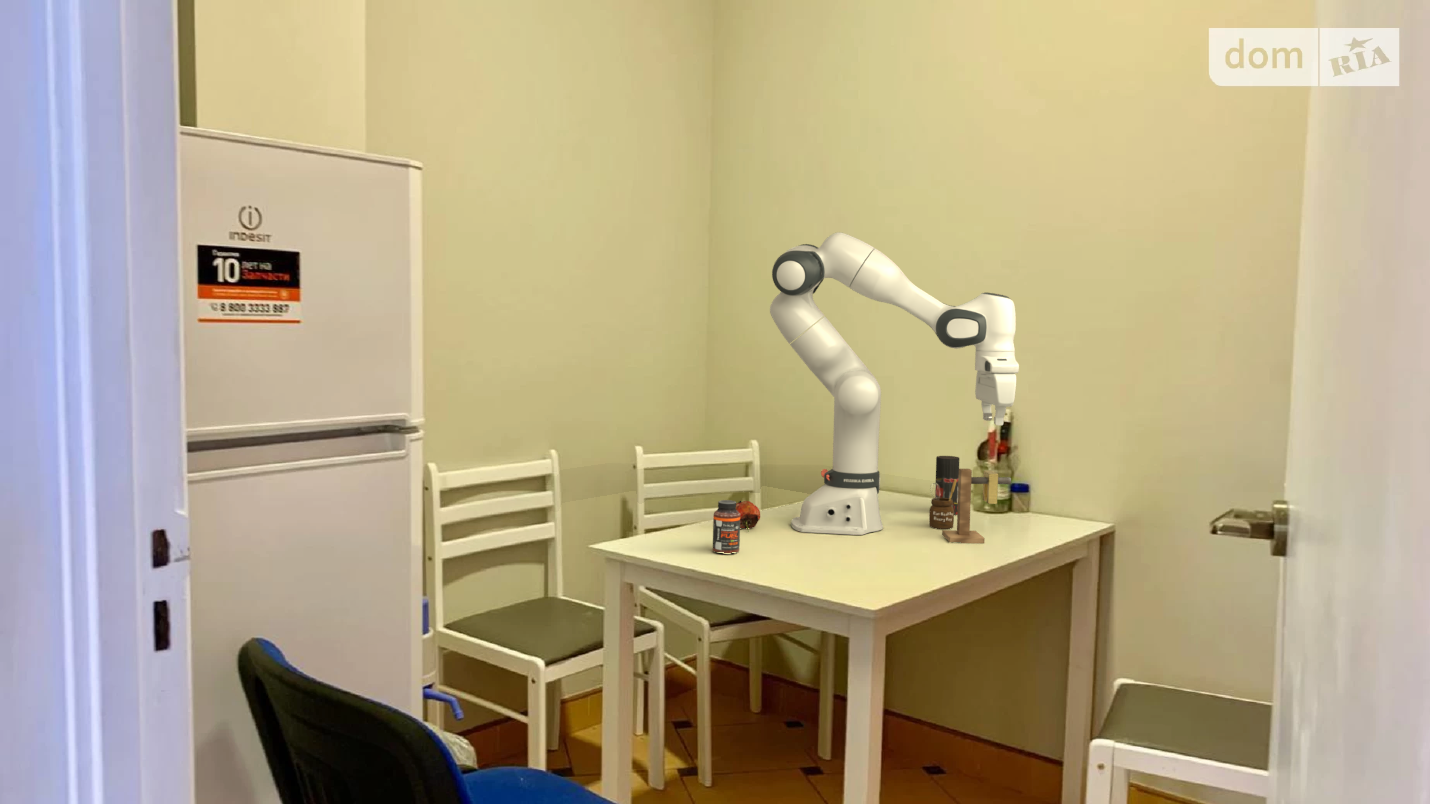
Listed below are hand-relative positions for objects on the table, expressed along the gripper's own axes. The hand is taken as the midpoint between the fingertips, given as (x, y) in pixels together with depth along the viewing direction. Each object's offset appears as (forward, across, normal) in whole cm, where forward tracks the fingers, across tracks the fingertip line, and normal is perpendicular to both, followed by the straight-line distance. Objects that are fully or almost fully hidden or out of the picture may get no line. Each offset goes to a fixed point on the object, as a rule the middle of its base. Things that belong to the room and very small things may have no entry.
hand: (992, 422), depth 239 cm
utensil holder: (+28, -13, -8) cm, 32 cm away
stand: (+28, 0, -3) cm, 28 cm away
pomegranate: (+28, -8, -57) cm, 64 cm away
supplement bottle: (+28, +15, -62) cm, 70 cm away
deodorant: (+28, -30, -3) cm, 41 cm away
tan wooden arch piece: (+19, 0, 0) cm, 19 cm away
